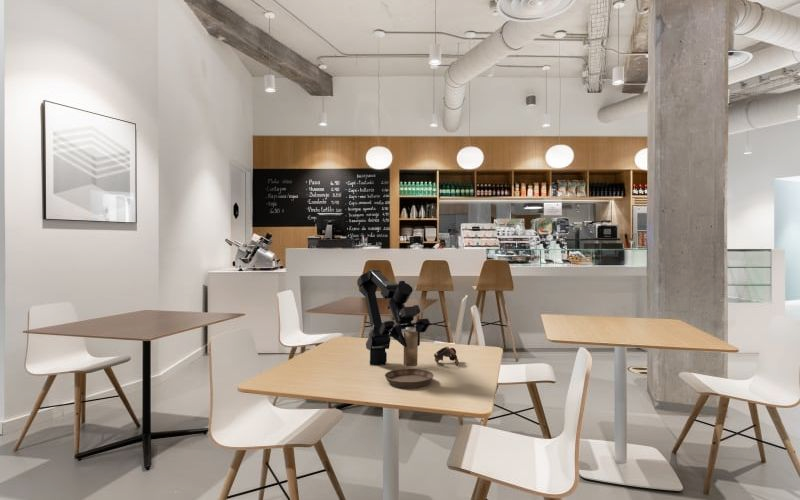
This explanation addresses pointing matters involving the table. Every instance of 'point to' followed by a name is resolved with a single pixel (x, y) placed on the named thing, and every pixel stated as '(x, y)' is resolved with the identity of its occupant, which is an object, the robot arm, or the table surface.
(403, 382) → the plant saucer
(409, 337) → the pepper mill
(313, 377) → the table surface
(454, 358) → the brown jagged crown
